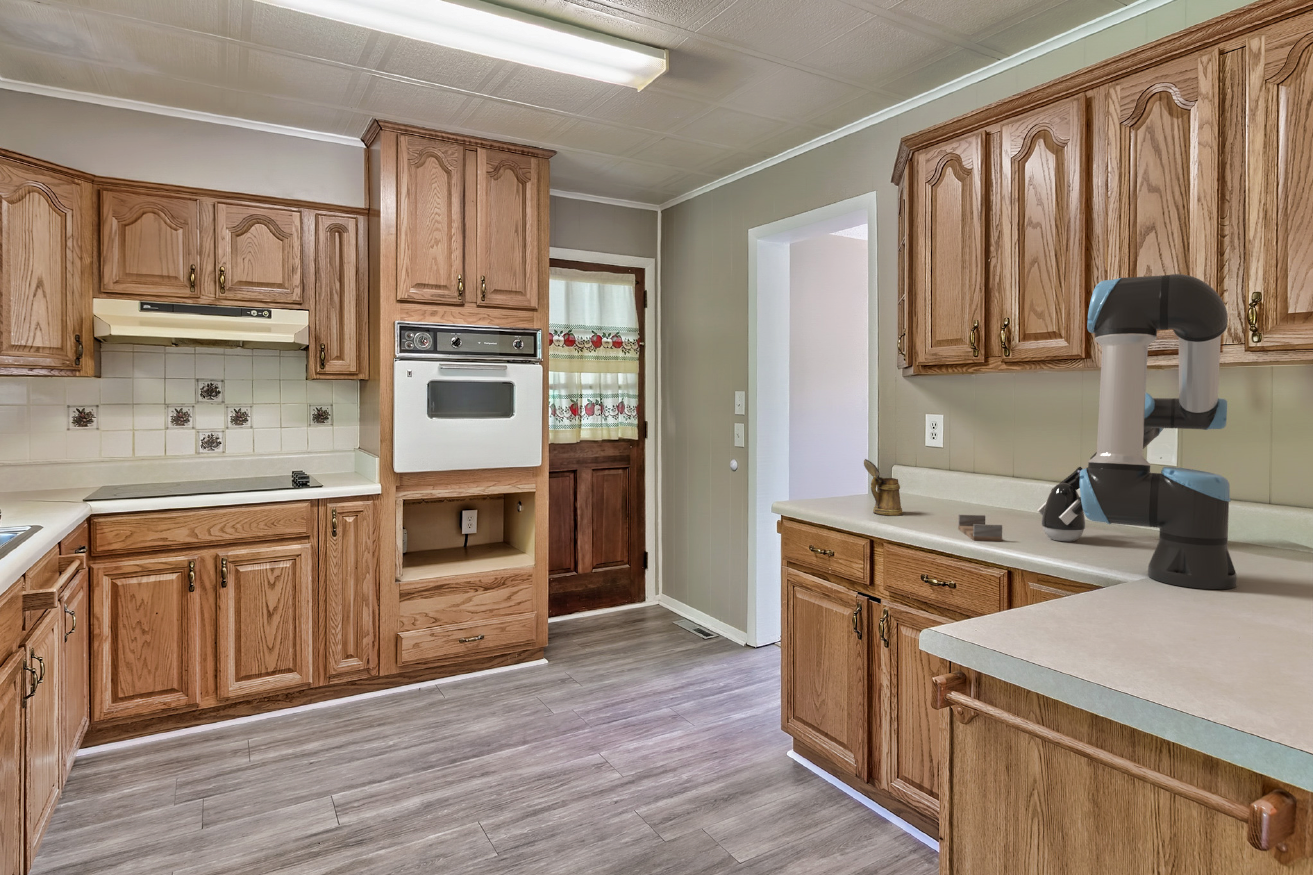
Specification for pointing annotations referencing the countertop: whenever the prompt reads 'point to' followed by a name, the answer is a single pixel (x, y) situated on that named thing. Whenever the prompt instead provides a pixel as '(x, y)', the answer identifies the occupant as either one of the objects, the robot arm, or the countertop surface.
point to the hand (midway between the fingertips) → (1051, 517)
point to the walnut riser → (979, 528)
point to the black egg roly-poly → (1055, 507)
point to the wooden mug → (884, 492)
